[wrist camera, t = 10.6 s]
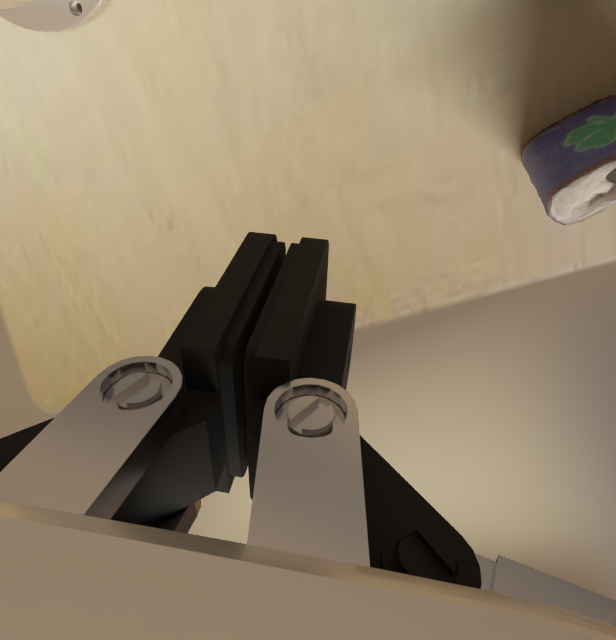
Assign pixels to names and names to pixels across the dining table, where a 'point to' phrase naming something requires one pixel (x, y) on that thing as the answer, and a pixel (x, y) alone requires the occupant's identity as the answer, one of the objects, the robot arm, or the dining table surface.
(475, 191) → the dining table surface
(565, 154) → the flask
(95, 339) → the dining table surface
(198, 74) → the dining table surface
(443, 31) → the dining table surface
